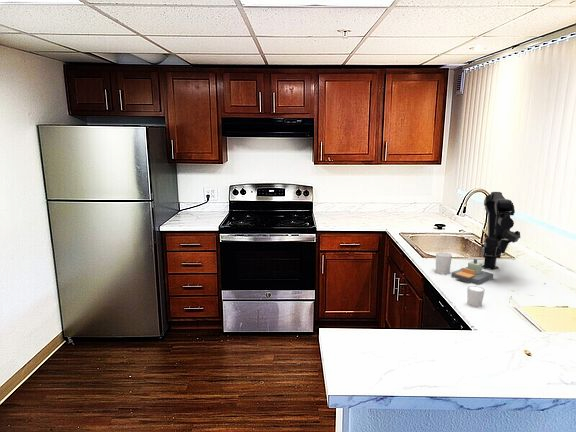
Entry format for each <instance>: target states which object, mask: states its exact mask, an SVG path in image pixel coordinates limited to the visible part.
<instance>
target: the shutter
mask: <svg viewBox="0 0 576 432" xmlns="http://www.w3.org/2000/svg"><path fill="white" fill-rule="evenodd" d="M461 269H462V271H461V272H458V273H456V274H455V275H459V276H462V277H465V278H471V277H474V276H475V271H474V270H470V269H466V268H465V267H461Z"/></svg>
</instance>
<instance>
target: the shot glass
mask: <svg viewBox="0 0 576 432" xmlns="http://www.w3.org/2000/svg"><path fill="white" fill-rule="evenodd" d="M466 289H467V290H466V291H467V292H466V293H467V297H466V298H467V303H466V304H468V305H469V306H472V307H477V308H478V307H482V304H483V300H484V296H485V289H484V288H483V287H481V286H478V285H469V286H467V288H466Z"/></svg>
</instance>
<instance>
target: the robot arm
mask: <svg viewBox="0 0 576 432" xmlns="http://www.w3.org/2000/svg"><path fill="white" fill-rule="evenodd" d="M483 206H484V210H485V212H486V213H487V237H486V238H485V239H484V246H483V248H482V250H481V256H482V257H483V258H484V261H483V264H482V268H484V269H487V270H495V269H498V268H499V266H497V265H496V264H497V259H500V258H501V256H502V254H505V252H506V251H507V248H508V245H509V244H511V243H513V244H515V243H517V242H518V241H519V239H521V231H518V230H515V231H511V229H512V228H513V227H514V225H515V221H514V220H513V218H511V216H514V215H515V212H516V211H515V205H514V203H513V202H512V200H511V199H508V198H507V199H506V198H505V197H504V196H503V193H502V192H501V191H492V192H490V194H488V195H486V196H485V198H484V200H483Z"/></svg>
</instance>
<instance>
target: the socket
mask: <svg viewBox="0 0 576 432" xmlns="http://www.w3.org/2000/svg"><path fill="white" fill-rule="evenodd" d="M464 268H466V269H468V266H466V267H464ZM461 271H462V268H460V269H457V270H454V271H452V272H451V276H450V277H451V278H453V279H457V280H460V281H463V282H467V283H470V284H474V285H475V286H479V285H482V284H484V283H486V282H489V281H491V280H494V273H491V272H489V271H484V270H481V274H479V275H475V276H474V277H471V278H465V277H462V276H459V275H455V274H456V273H458V272H461Z"/></svg>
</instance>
